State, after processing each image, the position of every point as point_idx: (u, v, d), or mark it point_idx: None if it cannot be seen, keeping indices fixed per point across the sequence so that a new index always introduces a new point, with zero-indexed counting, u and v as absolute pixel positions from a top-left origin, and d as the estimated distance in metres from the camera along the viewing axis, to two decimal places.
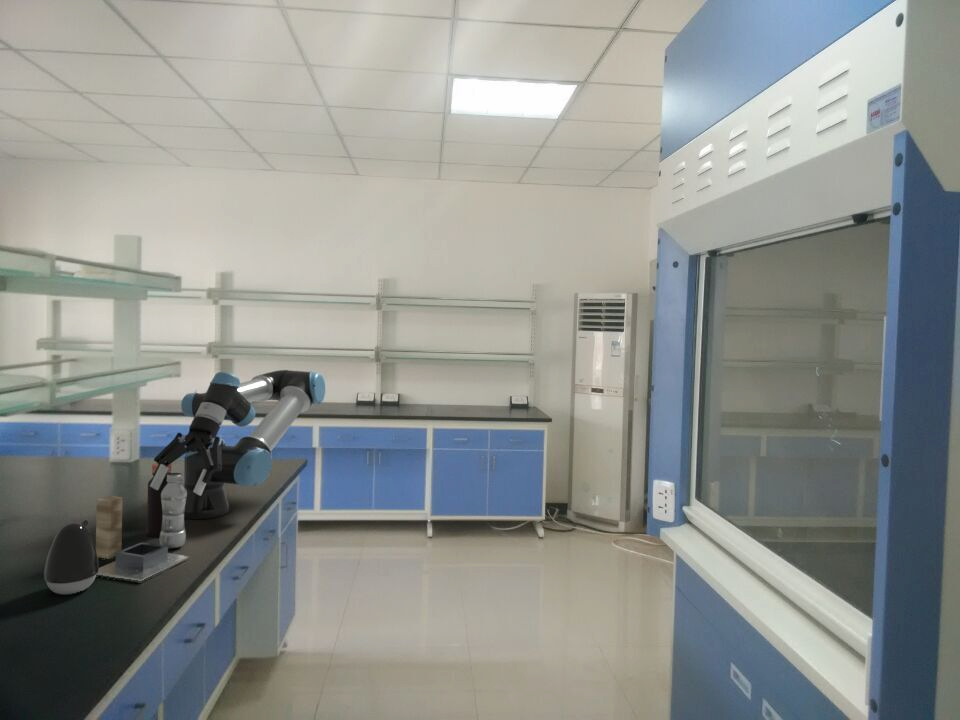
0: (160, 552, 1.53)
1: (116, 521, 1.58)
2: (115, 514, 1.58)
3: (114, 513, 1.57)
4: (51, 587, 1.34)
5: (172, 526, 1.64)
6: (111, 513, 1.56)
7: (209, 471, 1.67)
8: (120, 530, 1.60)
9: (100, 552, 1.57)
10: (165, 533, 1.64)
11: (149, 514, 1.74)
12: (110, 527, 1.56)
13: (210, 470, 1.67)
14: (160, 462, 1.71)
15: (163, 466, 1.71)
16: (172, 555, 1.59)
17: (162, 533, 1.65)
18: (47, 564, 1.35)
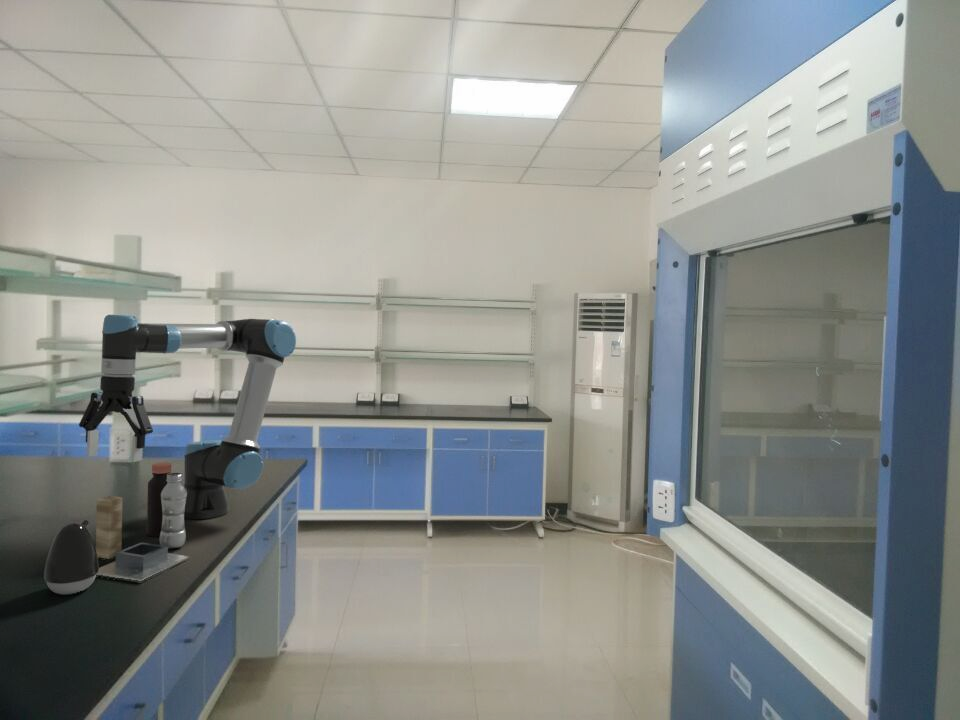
0: (160, 552, 1.53)
1: (116, 521, 1.58)
2: (115, 513, 1.58)
3: (114, 513, 1.57)
4: (51, 587, 1.34)
5: (172, 526, 1.64)
6: (111, 512, 1.56)
7: (140, 437, 1.56)
8: (120, 530, 1.60)
9: (100, 552, 1.57)
10: (165, 533, 1.64)
11: (149, 514, 1.74)
12: (110, 527, 1.56)
13: (140, 435, 1.55)
14: (86, 429, 1.58)
15: (91, 432, 1.59)
16: (172, 555, 1.59)
17: (162, 533, 1.65)
18: (47, 564, 1.35)
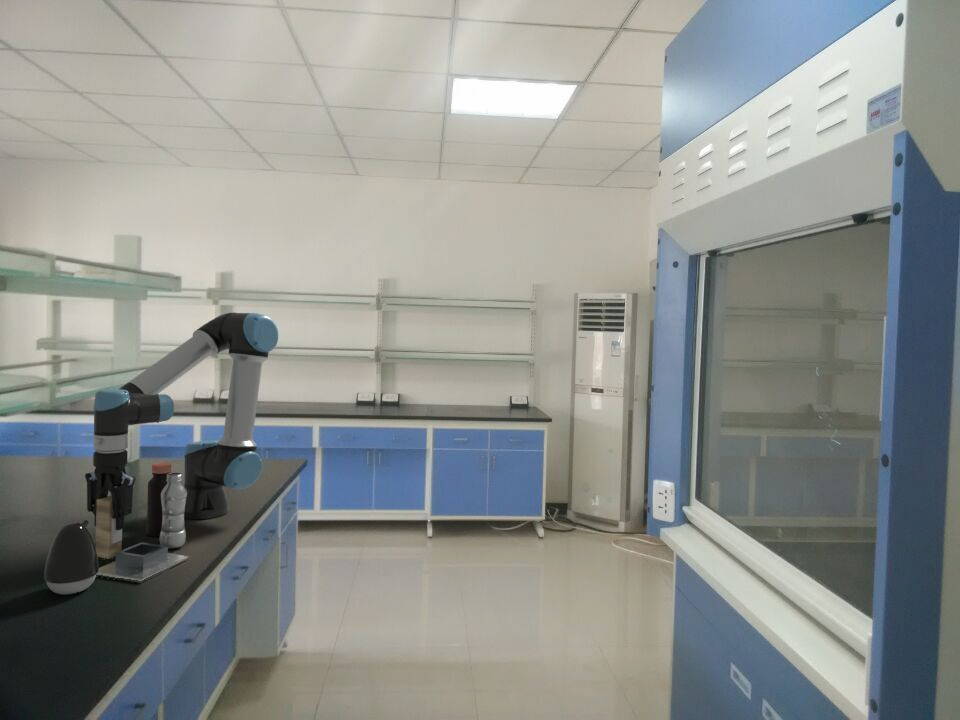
0: (160, 552, 1.53)
1: None
2: None
3: None
4: (51, 587, 1.34)
5: (172, 526, 1.64)
6: (111, 512, 1.56)
7: (119, 518, 1.57)
8: None
9: (100, 552, 1.57)
10: (165, 533, 1.64)
11: (149, 514, 1.74)
12: (110, 527, 1.56)
13: (119, 517, 1.57)
14: (95, 513, 1.58)
15: None
16: (172, 555, 1.59)
17: (162, 533, 1.65)
18: (47, 564, 1.35)
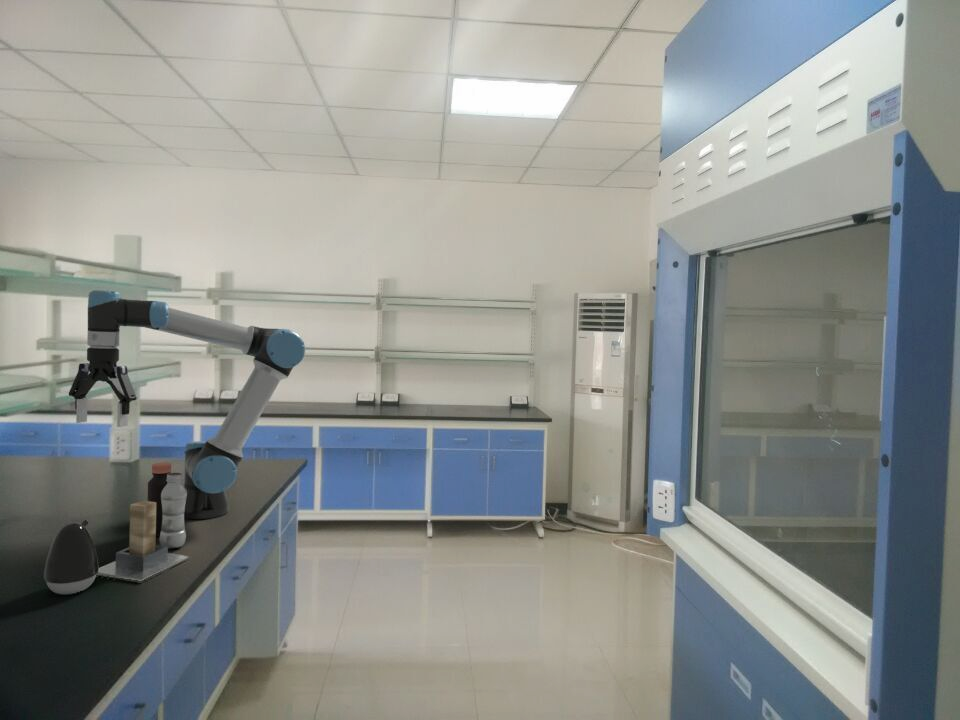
0: (160, 552, 1.53)
1: (150, 527, 1.52)
2: (149, 519, 1.52)
3: (148, 518, 1.51)
4: (51, 587, 1.34)
5: (172, 526, 1.64)
6: (145, 518, 1.50)
7: (124, 403, 1.67)
8: (154, 536, 1.54)
9: None
10: (165, 533, 1.64)
11: None
12: (144, 533, 1.50)
13: (125, 402, 1.67)
14: (75, 397, 1.71)
15: (80, 400, 1.71)
16: (172, 555, 1.59)
17: (162, 533, 1.65)
18: (47, 564, 1.35)
